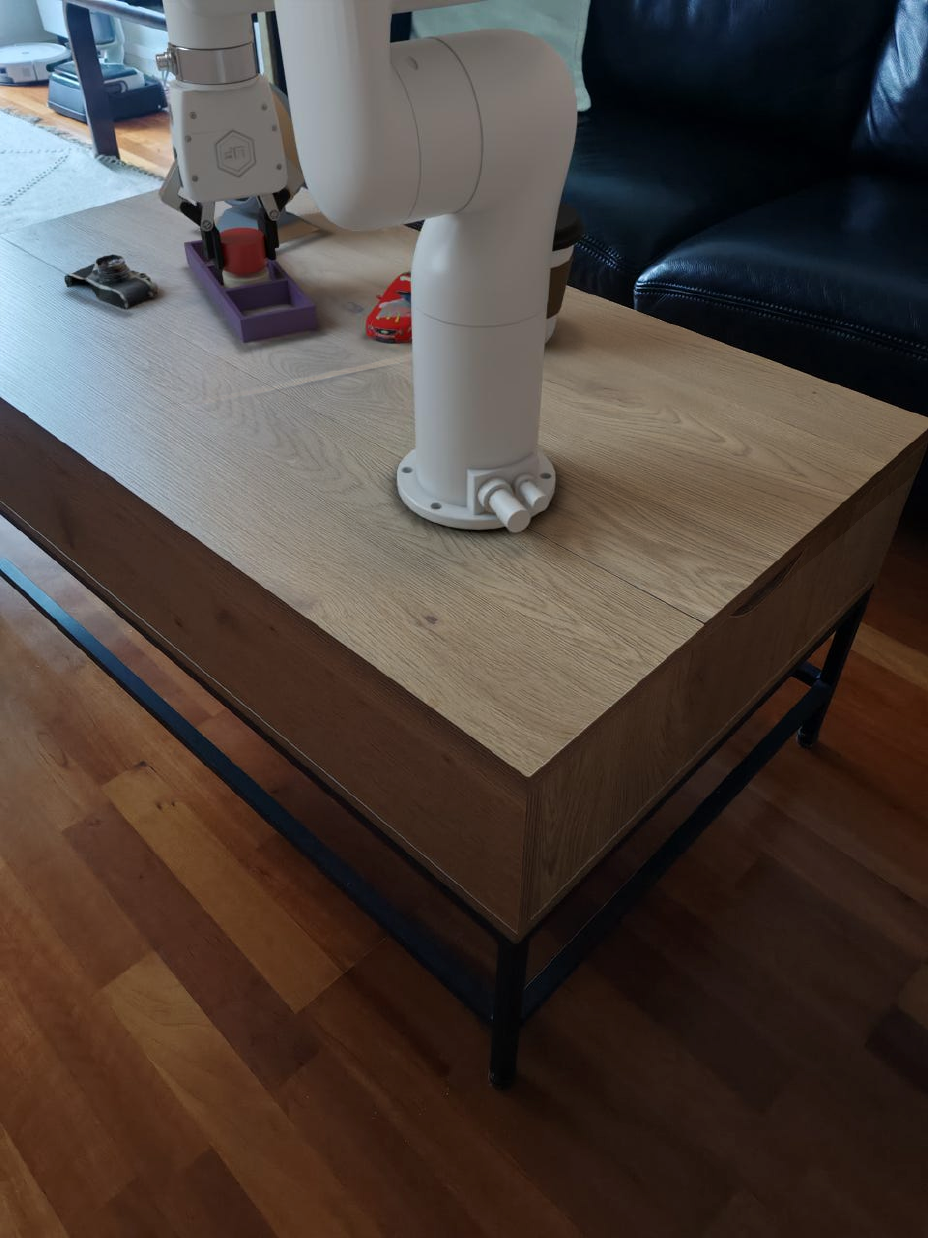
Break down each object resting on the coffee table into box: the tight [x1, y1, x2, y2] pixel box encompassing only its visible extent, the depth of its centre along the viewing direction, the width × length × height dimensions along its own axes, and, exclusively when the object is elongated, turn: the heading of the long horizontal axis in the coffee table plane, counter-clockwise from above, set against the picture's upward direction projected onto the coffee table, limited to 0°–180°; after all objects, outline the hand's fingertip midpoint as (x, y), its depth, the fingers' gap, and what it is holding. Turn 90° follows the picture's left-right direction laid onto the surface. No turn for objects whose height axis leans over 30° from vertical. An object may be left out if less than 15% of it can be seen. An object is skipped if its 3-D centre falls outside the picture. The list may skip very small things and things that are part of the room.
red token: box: [220, 228, 267, 274], centre depth 100 cm, size 5×5×3 cm
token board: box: [183, 239, 319, 344], centre depth 103 cm, size 22×8×3 cm, turn 26°
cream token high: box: [222, 266, 271, 289], centre depth 102 cm, size 5×5×1 cm
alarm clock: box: [197, 81, 320, 245], centre depth 112 cm, size 14×10×18 cm
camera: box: [63, 253, 159, 310], centre depth 103 cm, size 5×10×4 cm, turn 53°
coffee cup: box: [545, 201, 585, 344], centre depth 94 cm, size 11×11×12 cm
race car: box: [365, 270, 412, 344], centre depth 99 cm, size 13×5×4 cm, turn 161°
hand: (243, 258), depth 101 cm, fingers closed on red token, 4 cm apart
